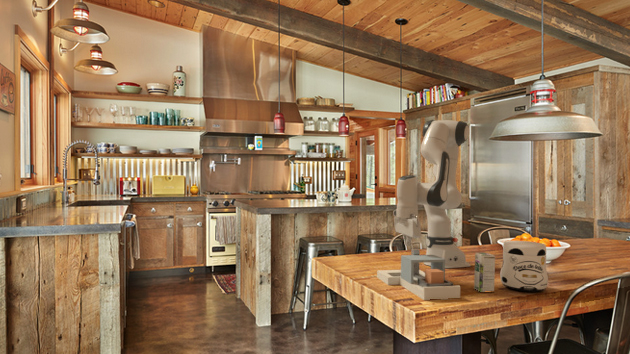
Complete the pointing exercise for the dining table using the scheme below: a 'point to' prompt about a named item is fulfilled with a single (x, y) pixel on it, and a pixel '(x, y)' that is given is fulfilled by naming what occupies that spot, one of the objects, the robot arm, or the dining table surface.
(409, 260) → the tunnel
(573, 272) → the dining table surface
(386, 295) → the dining table surface
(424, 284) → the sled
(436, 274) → the block
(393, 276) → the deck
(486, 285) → the syrup box
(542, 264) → the milk container
